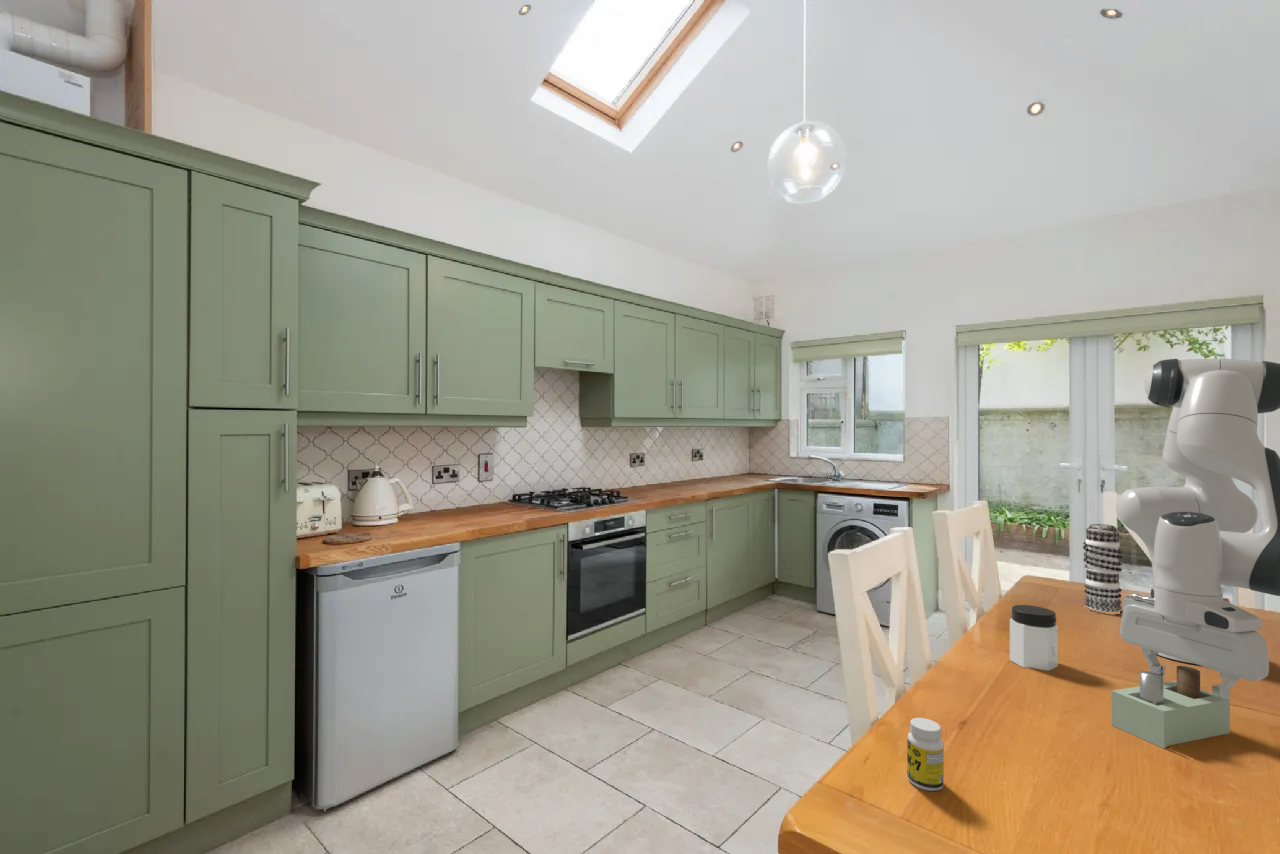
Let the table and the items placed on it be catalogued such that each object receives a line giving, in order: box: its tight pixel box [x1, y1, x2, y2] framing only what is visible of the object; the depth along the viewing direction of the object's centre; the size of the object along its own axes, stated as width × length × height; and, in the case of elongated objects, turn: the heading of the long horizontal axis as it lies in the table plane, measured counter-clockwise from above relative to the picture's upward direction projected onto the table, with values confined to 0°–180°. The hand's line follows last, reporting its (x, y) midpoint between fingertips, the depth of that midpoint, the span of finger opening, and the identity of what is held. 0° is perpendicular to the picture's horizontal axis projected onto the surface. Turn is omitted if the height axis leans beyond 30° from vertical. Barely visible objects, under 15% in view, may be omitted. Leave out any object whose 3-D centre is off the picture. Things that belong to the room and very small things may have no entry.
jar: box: [1009, 604, 1059, 672], centre depth 130 cm, size 9×8×12 cm
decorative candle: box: [1082, 523, 1123, 612], centre depth 172 cm, size 9×9×25 cm
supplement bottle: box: [906, 717, 945, 792], centre depth 85 cm, size 5×5×8 cm
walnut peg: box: [1176, 665, 1201, 699], centre depth 102 cm, size 3×3×10 cm
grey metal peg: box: [1139, 670, 1164, 706], centre depth 100 cm, size 3×3×10 cm
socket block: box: [1111, 680, 1231, 749], centre depth 101 cm, size 16×8×6 cm, turn 107°
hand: (1187, 685), depth 103 cm, fingers open, 8 cm apart
